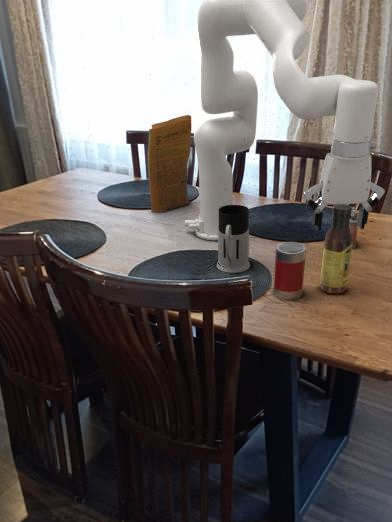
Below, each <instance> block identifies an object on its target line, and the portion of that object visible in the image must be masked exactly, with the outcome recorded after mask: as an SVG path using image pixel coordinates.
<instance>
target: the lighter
mask: <svg viewBox="0 0 392 522" xmlns="http://www.w3.org/2000/svg"><path fill="white" fill-rule="evenodd" d="M351 207H352V211H351V214H350V221H349V228H350V232H351V236H352V241H353V244H352V250H353V249H355V248H357V235H358V228H359V226H358V225H357V220H358V214H359V212H358V211H357V210H356V207H355V206H351Z"/></svg>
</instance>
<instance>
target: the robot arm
mask: <svg viewBox="0 0 392 522" xmlns="http://www.w3.org/2000/svg"><path fill="white" fill-rule="evenodd" d="M307 8H308V5H307V0H203V1H202V2H201V3H200V5H199V7H198V10H197V12H196V16H195V34H196V40H197V45H198V51H199V104H200V106H201V110H203V112H204V113H206V114H209V115H221V114H228V113H231V115H229V116H223V117H216V118H211V119H208V120H205V121H203V122H201V123H199V124H198V125H197V126H196V128H195V130H194V133H193V143H194V149H195V152H196V157H197V167H198V188H199V191H198V192H199V194H198V195H199V215H198V218H195V219H185V220H184V225H185V226H184V227H185V228H188V229H189V230H193V229H195V230H194V231H195V232H194V233H195V236H196V237H198V238H200V239H203V240H207V241H218V226H219V208H221V207H223V206H226V205H234V204H233V201H234V199H233V195H234V194H233V192H234V191H233V189H234V187H233V182H234V180H233V179H234V176H233V175H234V174H233V168H232V166H231V164H230V163H229V161H228V159H227V157H226V156H228V155H233V154H237V153H242V152H244V151H245V152H246V151H247V150H249V149H251V147H252V146H253V145H254V143H255V139H256V134H257V122H258V121H257V117H258V105H259V104H258V103H259V92H258V91H259V90H258V86H257V82H256V80H255V77H254V76H253V75H252V73H250V72H249V71H246V70H234V60H235V56H234V55H235V54H234V50H233V48H232V45H231V42H230V41H229V40H228V37H237V36H249V35H255V36H257V38H258V39H259V40H260V42H261V43H262V45H263V46H264V48H265V49H266V50H267V52H268V53H269V54H270V56H271V58H272V59H273V64H272V76H273V84H274V88H275V90H276V93H277V94H278V96H279V98H280V99H281V101H282V102H283V103H284V105H285V107H286V108H287V109H288V110H289V111H290V112H291V113H292V114H293V115H294V116H295V117H296V118H298V119H300V120H306V121H307V120H309V121H310V120H314V119H318V118H324V117H332V116H334V122H333V123H334V125H333V131H332V139H331V146H330V147H331V148H330V152H327V153H326V155H325V158H324V160H323V164H322V169H321V174H320V178H319V182H317V184H314V185H313V186H311V187H309V188H307V189H305V190H303V193H302V194H303V195H304V199H305V200H306V203H307V204H308V206H309V208H311V209H312V210H313V214H312V215H313V216H312V226H313V227H314V228H315V229H316V231H317V232H319V231H321V230H322V225H323V217H324V215H323V210H324V209H325V208H326V207H327V206H329V205H331V206H334V205H339V204H345V205H359V204H360V205H361V206H360V207H359V208H358V216H357V217H358V220H357V225H358V228H359V230H360V229H361V230H365V225H367V224H368V219H369V213H370V212H371V211H372V209H373V208H374V207H375V206H376V205H377V204H379V202H380V200H381V198H382V197H383V196H384V194H385V193H386V190H385V189H384V188H383V187H381V186H379V185H377V184H376V183H373V182H372V155H371V150H373V149H376V148H377V147H378V143H377V141H373V140H372V134H373V128H374V123H375V116H376V110H377V103H378V97H379V85H378V84H377V83H376V82H374V81H372V80H368V79H356V78H353V77H350V76H349V75H345V74H332V75H322V76H321V75H320V76H315V77H308V76H307V75H306V74H305V72H304V71H303V70H302V69H301V67H300V66H299V64H298V63H297V60H298V59H299V58H300V57H301V56H302V54H303V53H304V52H305V51H306V48H307V47H308V44H309V40H310V32H309V29H308V28H307V27H306V26H305V24H304V23H303V21H304V18H305V17H306V14H307ZM371 191H372V192H374V194H373V196H371V197H370V192H371ZM315 194H317V195H318V199H317V200H316V201H314V199H313V195H315ZM369 197H370V198H369Z"/></svg>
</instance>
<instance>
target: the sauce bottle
mask: <svg viewBox="0 0 392 522" xmlns="http://www.w3.org/2000/svg"><path fill="white" fill-rule="evenodd" d="M352 207H353V206H351V205H350V204H339V205H332V211H331V213H332V221H331V227H330V228H329V229H328V231H327V232H326V234H325V236H324V246H323V250H322V251H323V253H322V260H321V261H322V262H321V271H320V281H319V282H320V285H319V287H320V289H321V291H323V292H324V293H327V294H332V295H338V294H342V293H345V291H346V290H347V285H348V281H349V273H350V268H351V267H350V266H351V258H352V250H353V249H352V244H353V241H352V236H351V232H350V228H349V221H350V214H351V211H352Z"/></svg>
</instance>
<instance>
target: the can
mask: <svg viewBox="0 0 392 522" xmlns="http://www.w3.org/2000/svg"><path fill="white" fill-rule="evenodd" d="M306 253H307V246H305V244H303V243H300V242H297V241H284V242H280V243H278V244H277V245H276V247H275V257H274V258H275V259H274V279H273V295H274V296H275V297H277V298H278V299H282V300H285V301H286V300H287V301H290V300H297V299H299V298H301V297H302V296H303V289H304V279H305V267H306V255H307V254H306Z"/></svg>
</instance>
